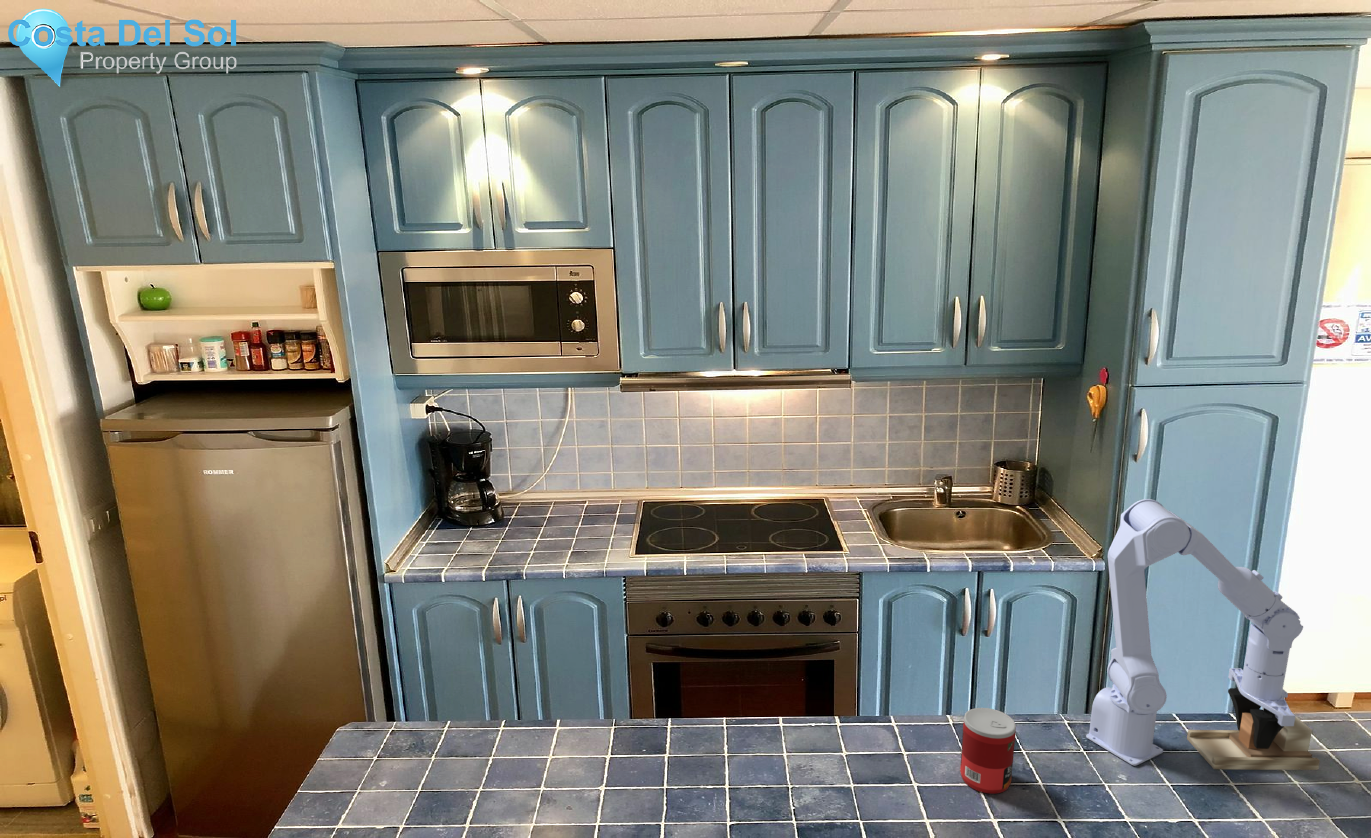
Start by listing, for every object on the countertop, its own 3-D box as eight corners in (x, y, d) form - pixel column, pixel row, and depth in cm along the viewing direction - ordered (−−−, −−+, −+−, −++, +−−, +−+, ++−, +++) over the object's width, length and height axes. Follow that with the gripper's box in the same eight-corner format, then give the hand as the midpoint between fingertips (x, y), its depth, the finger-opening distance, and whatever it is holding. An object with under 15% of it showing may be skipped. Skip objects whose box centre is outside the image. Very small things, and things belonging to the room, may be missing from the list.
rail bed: (1214, 769, 141) (1215, 759, 141) (1186, 738, 150) (1188, 729, 149) (1318, 770, 141) (1320, 760, 140) (1285, 739, 149) (1286, 730, 149)
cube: (1283, 751, 143) (1287, 730, 142) (1268, 736, 147) (1272, 716, 146) (1308, 751, 143) (1312, 730, 142) (1292, 736, 146) (1296, 716, 145)
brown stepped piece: (1250, 759, 142) (1255, 728, 141) (1229, 738, 148) (1233, 707, 147) (1311, 760, 142) (1317, 728, 140) (1287, 738, 148) (1293, 707, 146)
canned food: (1014, 798, 135) (1020, 737, 133) (962, 792, 137) (966, 731, 134) (1006, 767, 143) (1011, 709, 140) (957, 762, 144) (961, 704, 142)
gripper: (1319, 691, 134) (1305, 766, 137) (1262, 645, 148) (1250, 714, 151) (1274, 691, 134) (1261, 765, 138) (1220, 645, 148) (1210, 714, 152)
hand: (1253, 739), depth 145 cm, fingers open, 4 cm apart
